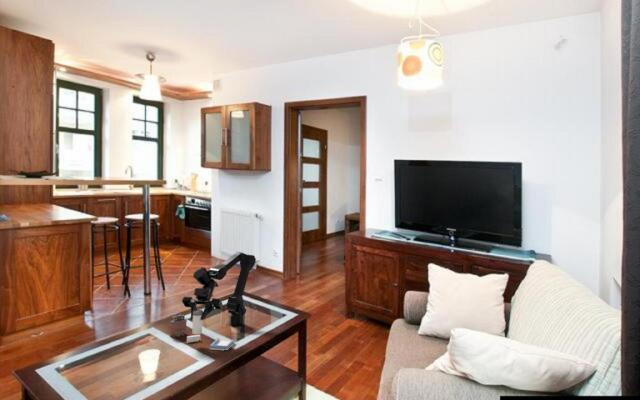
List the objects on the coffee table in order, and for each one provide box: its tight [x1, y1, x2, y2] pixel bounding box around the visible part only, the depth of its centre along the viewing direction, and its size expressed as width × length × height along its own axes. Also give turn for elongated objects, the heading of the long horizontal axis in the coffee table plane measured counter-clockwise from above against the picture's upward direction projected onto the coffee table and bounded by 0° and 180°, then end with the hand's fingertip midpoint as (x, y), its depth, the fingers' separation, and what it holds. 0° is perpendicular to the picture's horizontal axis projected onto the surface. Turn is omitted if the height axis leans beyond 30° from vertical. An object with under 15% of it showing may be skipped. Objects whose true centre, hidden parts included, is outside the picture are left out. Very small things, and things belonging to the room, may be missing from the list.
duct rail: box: [186, 334, 202, 343], centre depth 169 cm, size 6×2×2 cm, turn 122°
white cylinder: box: [191, 309, 204, 335], centre depth 165 cm, size 4×4×10 cm
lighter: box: [169, 314, 188, 338], centre depth 177 cm, size 8×3×10 cm, turn 134°
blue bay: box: [209, 338, 235, 351], centre depth 165 cm, size 9×8×2 cm
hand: (196, 319), depth 164 cm, fingers closed on white cylinder, 4 cm apart
